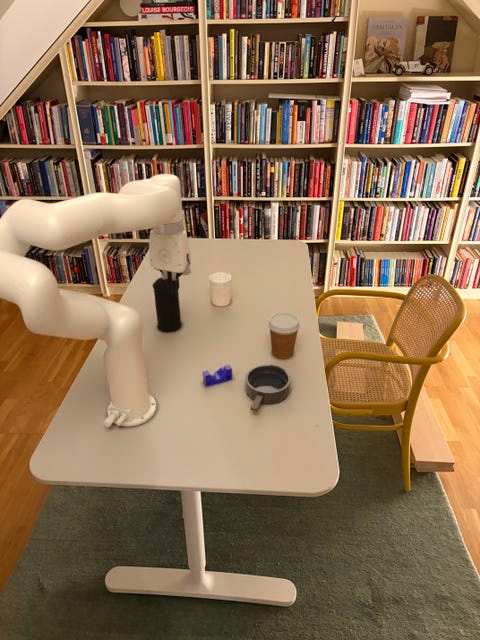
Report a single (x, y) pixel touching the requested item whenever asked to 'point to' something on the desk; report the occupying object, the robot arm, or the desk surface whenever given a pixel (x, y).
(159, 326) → the aerosol can
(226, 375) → the cable holder
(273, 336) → the disposable coffee cup
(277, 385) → the pan
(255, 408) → the pan handle
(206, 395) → the desk surface
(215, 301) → the white cup
